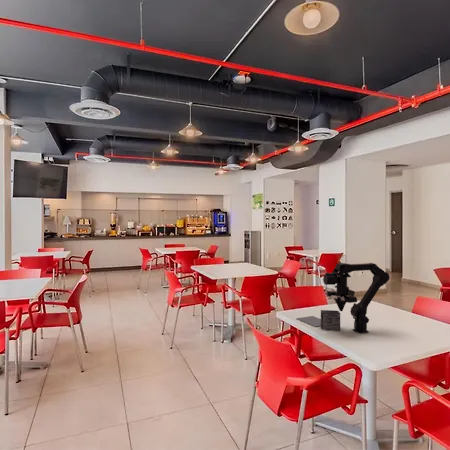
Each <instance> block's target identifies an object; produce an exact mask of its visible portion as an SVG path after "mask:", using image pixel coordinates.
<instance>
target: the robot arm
mask: <svg viewBox="0 0 450 450" xmlns="http://www.w3.org/2000/svg"><path fill="white" fill-rule="evenodd" d="M360 271H361V272H362V271H363V272H364V271H369V272H370V273H371V274H372V275H373V276H372V282H371V284H370V285H369V287H368V289H367V290H366V291H365V292H364V295H363V297H362V298H361V300H360V301H359V302H358V298H357V296H355V293H356V292H355V291H354V290H351V289H350V287H349V286H348V278H351V276H352V275H350V273H352V272H360ZM390 278H391V277H390V275H389V273H388V272H386V271H385V270H383V269H382V268H381V267H379V266H378V265H377V264H376V263H373V262H368V263H345V262H338V263H337V264H336V265H335V267H334V269H333V270H332V272H325V273H324V275H323V278H322V281H323V284H324V285H325V286H327V285H329V286H330V285H331V286H333V285H334V288H335V289H336V290H329V291H327V292H326V296H327V297H329V298H330V297H333V296H334V297H333V300H334V301H335V304H336V305H337V307H338V309H339V310H338V311H339V312H343V311H344V308H345V306H346V304H347V303H349V304H351V303H353V304H352V306H351V307H350V311H349V312H350V315H351V316H352V318H353V319H354V321H353V328H352V331H354V332H357V333H359V334H365V333H369V330H367V329H368V323H369V322H370V318H369V317H368V316H367V312H368V306H369V305H370V303H371V302H372V300H373V299H374V297H375V296H376V294H377V293H378V291H379V290H380V288H381V287H383V286H384V285H385V284H387V283H388V282H389V280H390Z"/></svg>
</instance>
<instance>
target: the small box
mask: <svg viewBox="0 0 450 450" xmlns="http://www.w3.org/2000/svg"><path fill="white" fill-rule="evenodd" d="M320 319H321V326H320V328H321V330H323V331H341V311H340V310H334V309H332V310H331V309H330V310H329V309H327V310H326V309H320Z"/></svg>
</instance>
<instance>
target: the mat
mask: <svg viewBox="0 0 450 450" xmlns="http://www.w3.org/2000/svg"><path fill="white" fill-rule="evenodd" d="M295 320H297V321H299V320H300V322H302V323H304V324H306V323H307V325H309V326H311V327H314V328H321V318H319V317H316V316H314V315H310V316H303V317H297V318H296V319H295Z"/></svg>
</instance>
